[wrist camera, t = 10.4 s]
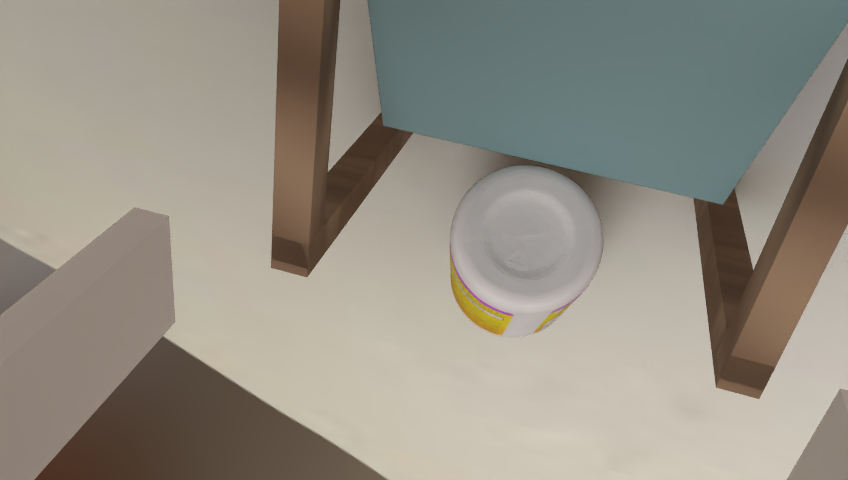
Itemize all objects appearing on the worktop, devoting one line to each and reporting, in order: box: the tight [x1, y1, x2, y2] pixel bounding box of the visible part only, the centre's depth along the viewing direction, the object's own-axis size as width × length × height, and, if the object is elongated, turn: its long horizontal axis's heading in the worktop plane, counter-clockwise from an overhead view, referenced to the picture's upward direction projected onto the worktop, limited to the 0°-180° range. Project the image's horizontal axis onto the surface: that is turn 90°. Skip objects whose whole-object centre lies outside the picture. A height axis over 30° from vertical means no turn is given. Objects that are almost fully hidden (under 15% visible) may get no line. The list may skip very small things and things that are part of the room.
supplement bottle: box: [450, 165, 603, 337], centre depth 38 cm, size 7×7×13 cm
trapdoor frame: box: [271, 0, 848, 399], centre depth 30 cm, size 18×19×16 cm
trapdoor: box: [368, 0, 848, 205], centre depth 26 cm, size 14×15×1 cm
